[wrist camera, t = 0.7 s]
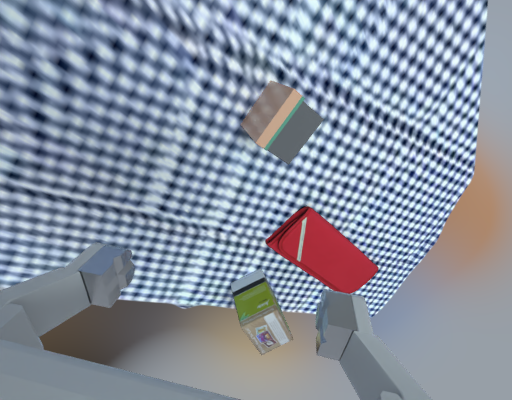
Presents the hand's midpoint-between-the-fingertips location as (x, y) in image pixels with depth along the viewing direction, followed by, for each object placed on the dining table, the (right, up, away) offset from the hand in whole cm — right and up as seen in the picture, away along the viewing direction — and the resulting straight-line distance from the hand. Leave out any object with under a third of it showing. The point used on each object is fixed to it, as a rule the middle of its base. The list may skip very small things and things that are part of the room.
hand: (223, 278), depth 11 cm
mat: (+8, +18, +44) cm, 49 cm away
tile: (+2, +22, +41) cm, 46 cm away
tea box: (+1, -23, +67) cm, 71 cm away
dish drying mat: (+22, -13, +68) cm, 73 cm away
